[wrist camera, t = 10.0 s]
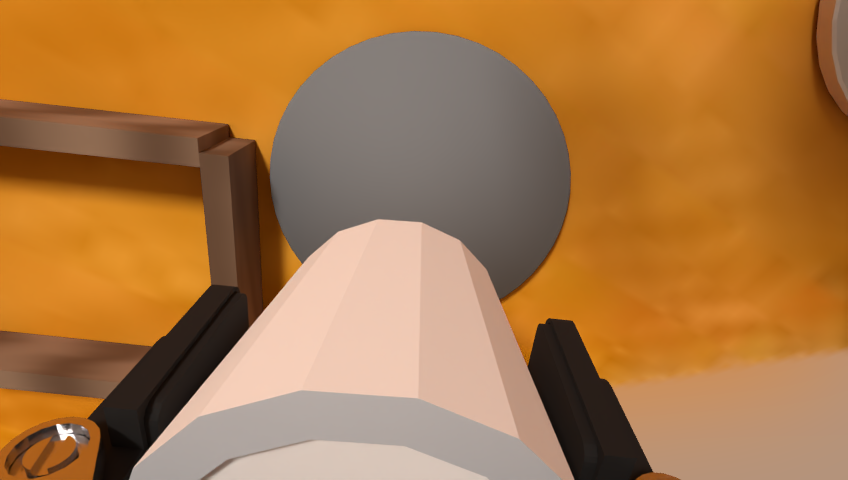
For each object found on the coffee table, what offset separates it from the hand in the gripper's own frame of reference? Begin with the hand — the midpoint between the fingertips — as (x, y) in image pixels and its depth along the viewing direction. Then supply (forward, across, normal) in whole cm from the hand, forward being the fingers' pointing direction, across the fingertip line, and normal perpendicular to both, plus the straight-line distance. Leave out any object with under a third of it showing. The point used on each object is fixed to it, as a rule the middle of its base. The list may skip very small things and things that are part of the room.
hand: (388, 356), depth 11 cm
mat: (+12, 0, 0) cm, 12 cm away
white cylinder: (+2, 0, 0) cm, 2 cm away
